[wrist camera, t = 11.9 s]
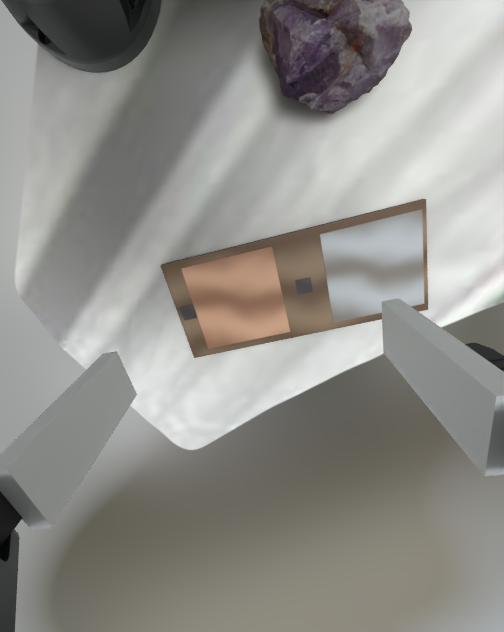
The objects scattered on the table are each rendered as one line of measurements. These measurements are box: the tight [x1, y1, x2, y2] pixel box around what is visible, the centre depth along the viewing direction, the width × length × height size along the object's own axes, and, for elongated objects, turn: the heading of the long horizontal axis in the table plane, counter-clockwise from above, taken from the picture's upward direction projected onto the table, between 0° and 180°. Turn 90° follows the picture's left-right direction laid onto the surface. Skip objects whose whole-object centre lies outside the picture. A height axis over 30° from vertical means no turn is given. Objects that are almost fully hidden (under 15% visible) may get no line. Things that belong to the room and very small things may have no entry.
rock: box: [259, 0, 412, 114], centre depth 24 cm, size 12×8×10 cm
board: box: [161, 199, 428, 358], centre depth 36 cm, size 14×33×1 cm, turn 104°
